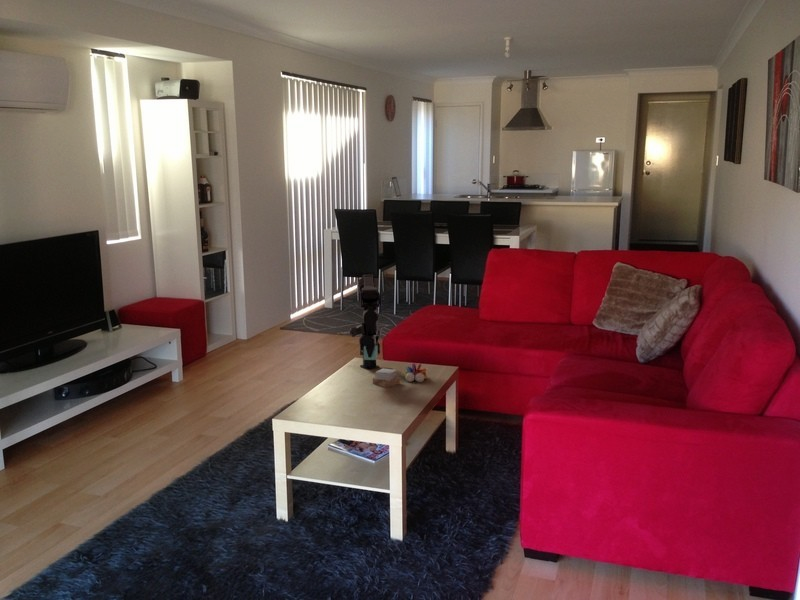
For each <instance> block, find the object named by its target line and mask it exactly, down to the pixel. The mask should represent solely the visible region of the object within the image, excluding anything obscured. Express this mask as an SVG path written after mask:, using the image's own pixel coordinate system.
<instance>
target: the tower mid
mask: <svg viewBox="0 0 800 600" xmlns="http://www.w3.org/2000/svg"><path fill="white" fill-rule="evenodd" d="M374 375H375V377H374V378H375V379H377V380H385V381H390V380H392V379H394V378H395V377H397V369H390V368H381V369H379V370H376V371H375V374H374Z"/></svg>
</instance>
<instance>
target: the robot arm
mask: <svg viewBox="0 0 800 600" xmlns="http://www.w3.org/2000/svg"><path fill="white" fill-rule="evenodd" d="M357 288H358V292H359V295H360V296H359V297H360V299H359V300H360V308H362V323H361V324H359V325H356V326H355V325H354V326H352V327H351V328H350V329H349V334H350V336H351V337H352V338H354V337H356V336H359V335H361V337H359V343H358V344H359V355H360V356H362V364H360V365H359V366H360V368H363V369H365V370H370V369H375V368H379V367H380V365H377V359H376V360H364V347H366V350H367V354H368V357H369V358H371V356H372V354H373V351H374V348H375V345H377V347H378V356H379V354H381V344H380V343H379V340H380V336H381V335H382V329H381V328H380V327H378V323H379V321H378V319H379V316H378V315H379V314H378V308H379V307H380V305H381V302H382V301H381V293H380V291H378V279H377V278H375V276H374V275H373V274H363V275H362V276H361V278H359V279H358V287H357Z"/></svg>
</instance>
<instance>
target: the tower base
mask: <svg viewBox="0 0 800 600" xmlns="http://www.w3.org/2000/svg"><path fill="white" fill-rule="evenodd" d="M400 381H401V380H400V377H399V376H396V377H395V378H394V379H392V380H390V381H385V380H377V379H375V377H373V378H372V385H375V386H378V387H381V388H386V389H387V388H389V387H394V386H396V384H397V385H400V384H399V383H401V382H400Z"/></svg>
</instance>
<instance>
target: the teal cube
mask: <svg viewBox="0 0 800 600" xmlns="http://www.w3.org/2000/svg"><path fill="white" fill-rule="evenodd" d="M378 356H379V355H378V347H377V345H375V348H374V351H373V354H372V356H371V358H369V357H368V354H367V350H366V347H364V360H376V361H377V359H378Z"/></svg>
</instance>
